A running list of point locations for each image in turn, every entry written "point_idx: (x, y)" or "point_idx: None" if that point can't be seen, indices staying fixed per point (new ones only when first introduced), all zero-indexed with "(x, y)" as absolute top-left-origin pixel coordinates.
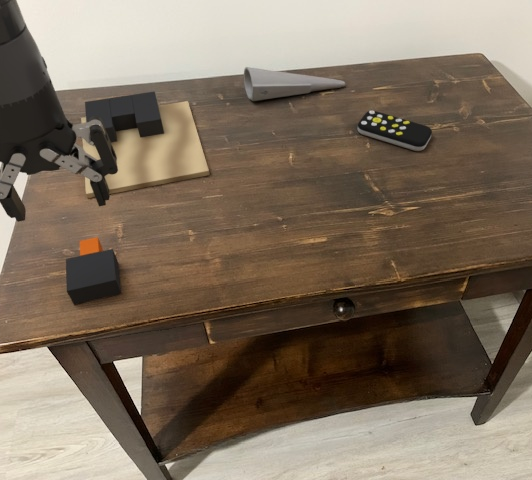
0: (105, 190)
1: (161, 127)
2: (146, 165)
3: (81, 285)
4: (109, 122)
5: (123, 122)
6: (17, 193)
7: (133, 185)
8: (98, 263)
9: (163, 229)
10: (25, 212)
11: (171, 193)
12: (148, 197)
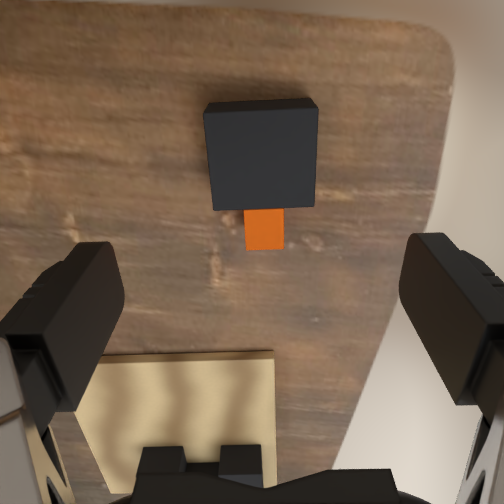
0: (31, 295)
1: (142, 459)
2: (169, 394)
3: (283, 116)
4: None
5: None
6: (430, 355)
7: (190, 360)
8: (244, 175)
9: (131, 255)
10: (400, 276)
11: (124, 332)
12: (166, 332)
